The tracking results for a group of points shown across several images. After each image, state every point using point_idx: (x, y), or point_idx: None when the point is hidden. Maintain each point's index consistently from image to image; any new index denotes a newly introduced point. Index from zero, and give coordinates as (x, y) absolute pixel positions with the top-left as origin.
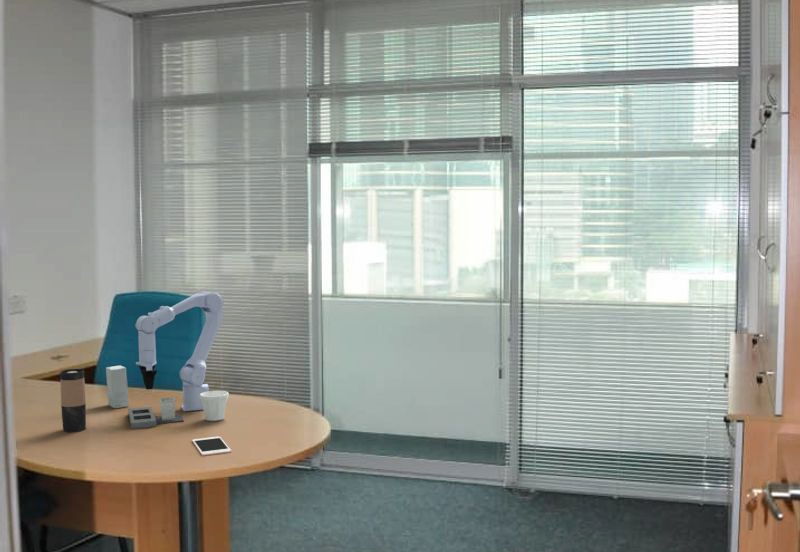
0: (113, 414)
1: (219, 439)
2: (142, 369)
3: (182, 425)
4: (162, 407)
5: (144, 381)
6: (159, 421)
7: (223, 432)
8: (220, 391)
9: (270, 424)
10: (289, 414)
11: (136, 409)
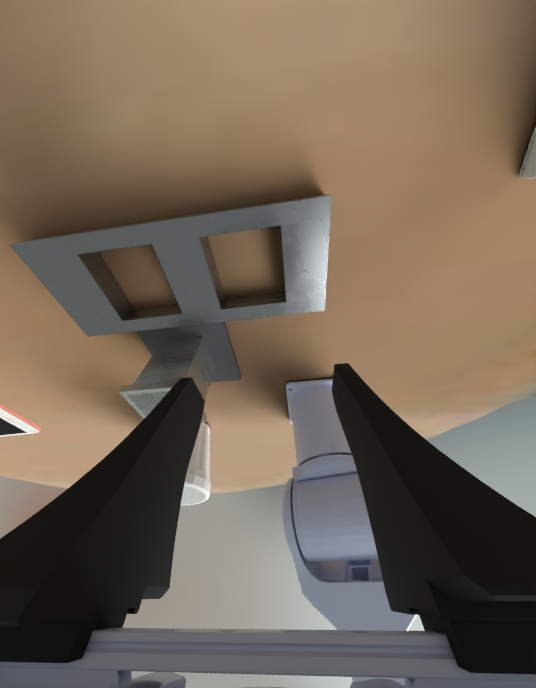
0: (372, 69)
1: (14, 432)
2: (416, 526)
3: (130, 381)
4: (141, 375)
5: (151, 426)
6: (155, 333)
7: (86, 433)
8: (202, 498)
9: None
10: (217, 482)
11: (299, 248)
